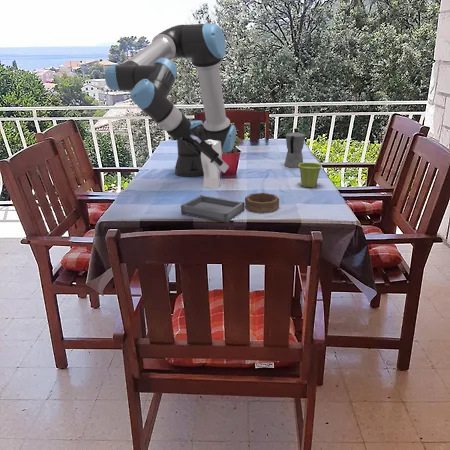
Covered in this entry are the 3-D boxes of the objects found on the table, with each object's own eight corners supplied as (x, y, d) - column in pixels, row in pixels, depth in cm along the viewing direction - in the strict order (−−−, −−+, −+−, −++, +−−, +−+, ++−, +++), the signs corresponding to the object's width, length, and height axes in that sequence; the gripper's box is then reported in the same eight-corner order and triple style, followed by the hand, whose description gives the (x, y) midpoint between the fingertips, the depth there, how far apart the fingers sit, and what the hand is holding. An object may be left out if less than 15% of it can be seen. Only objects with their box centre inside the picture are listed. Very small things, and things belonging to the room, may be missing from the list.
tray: (181, 213, 150) (180, 205, 149) (201, 202, 160) (201, 195, 159) (226, 222, 142) (226, 214, 141) (244, 210, 152) (244, 202, 151)
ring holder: (240, 209, 153) (240, 200, 152) (254, 200, 162) (254, 191, 161) (269, 214, 148) (270, 205, 147) (282, 204, 157) (282, 195, 156)
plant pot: (307, 181, 185) (308, 161, 182) (325, 185, 178) (326, 165, 175) (292, 185, 179) (293, 165, 176) (310, 190, 173) (312, 169, 170)
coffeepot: (287, 162, 216) (288, 125, 210) (305, 163, 213) (308, 126, 207) (280, 169, 203) (281, 131, 196) (300, 171, 200) (302, 132, 193)
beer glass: (219, 189, 143) (219, 144, 138) (199, 188, 145) (198, 143, 139) (223, 183, 150) (223, 140, 144) (204, 182, 151) (203, 139, 145)
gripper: (154, 127, 140) (200, 169, 154) (180, 137, 125) (228, 182, 138) (168, 110, 141) (213, 153, 155) (196, 116, 125) (242, 164, 139)
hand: (220, 167), depth 146 cm, fingers closed on beer glass, 7 cm apart
